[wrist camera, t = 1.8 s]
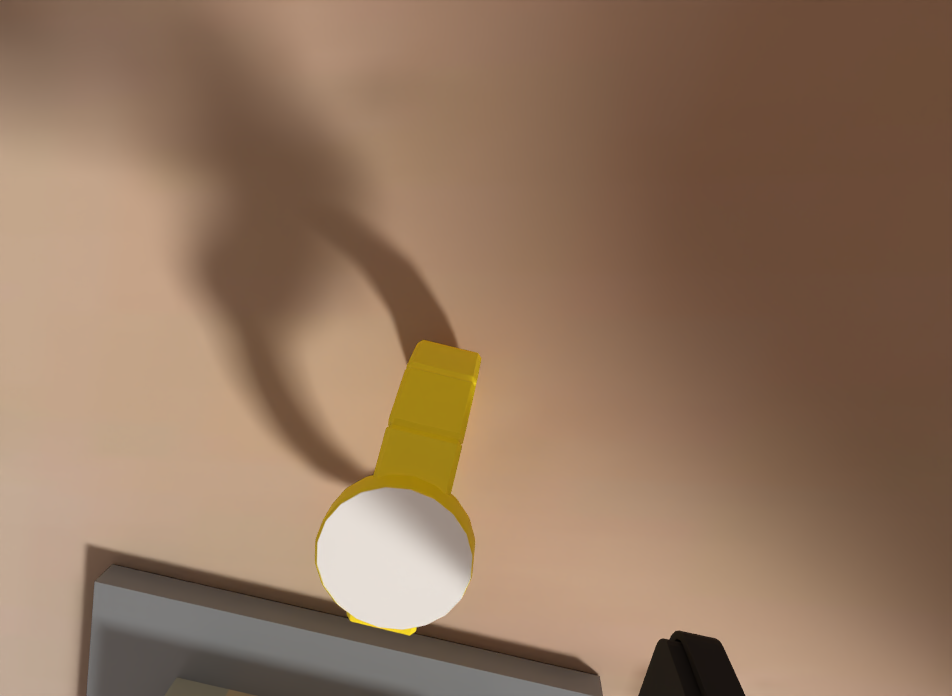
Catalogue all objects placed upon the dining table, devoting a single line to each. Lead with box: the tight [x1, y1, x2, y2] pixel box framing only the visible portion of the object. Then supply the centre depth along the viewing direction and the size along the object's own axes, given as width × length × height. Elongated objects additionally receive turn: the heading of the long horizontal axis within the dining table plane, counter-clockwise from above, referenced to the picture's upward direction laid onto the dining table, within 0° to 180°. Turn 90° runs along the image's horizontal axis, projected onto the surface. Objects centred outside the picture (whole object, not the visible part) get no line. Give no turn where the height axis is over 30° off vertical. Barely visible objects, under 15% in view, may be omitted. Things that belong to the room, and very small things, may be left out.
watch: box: [315, 340, 481, 636], centre depth 14 cm, size 6×3×6 cm, turn 167°
